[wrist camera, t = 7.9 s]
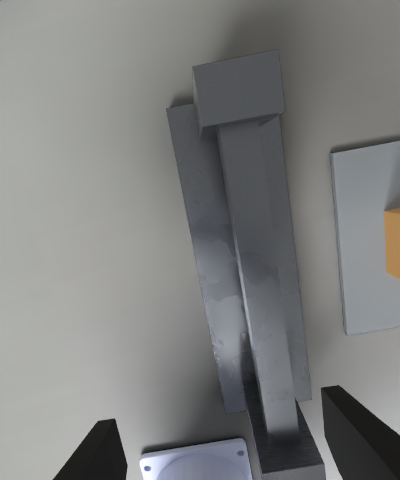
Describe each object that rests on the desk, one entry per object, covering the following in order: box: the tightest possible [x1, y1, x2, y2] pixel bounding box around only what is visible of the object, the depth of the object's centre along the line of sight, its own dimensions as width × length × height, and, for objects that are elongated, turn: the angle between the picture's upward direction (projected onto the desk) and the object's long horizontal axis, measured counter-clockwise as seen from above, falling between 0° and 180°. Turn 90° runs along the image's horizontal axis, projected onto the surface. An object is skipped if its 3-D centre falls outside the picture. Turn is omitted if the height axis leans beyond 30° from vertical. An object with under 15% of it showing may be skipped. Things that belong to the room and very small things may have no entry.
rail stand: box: [166, 50, 326, 480], centre depth 16 cm, size 20×6×7 cm, turn 10°
